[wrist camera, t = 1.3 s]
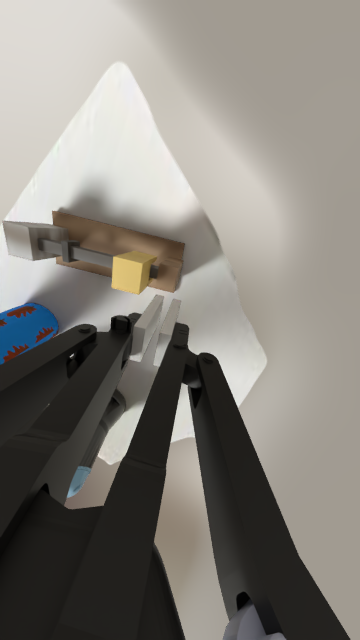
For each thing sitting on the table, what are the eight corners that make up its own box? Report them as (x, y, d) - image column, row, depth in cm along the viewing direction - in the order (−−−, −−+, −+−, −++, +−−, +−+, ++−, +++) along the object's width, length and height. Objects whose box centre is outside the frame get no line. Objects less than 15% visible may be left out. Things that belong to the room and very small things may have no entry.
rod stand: (176, 291, 40) (169, 309, 31) (55, 261, 40) (11, 270, 30) (187, 244, 36) (182, 247, 26) (51, 210, 35) (-2, 201, 26)
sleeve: (153, 280, 34) (138, 294, 26) (132, 275, 34) (111, 287, 26) (156, 256, 32) (142, 263, 24) (135, 250, 32) (113, 256, 24)
